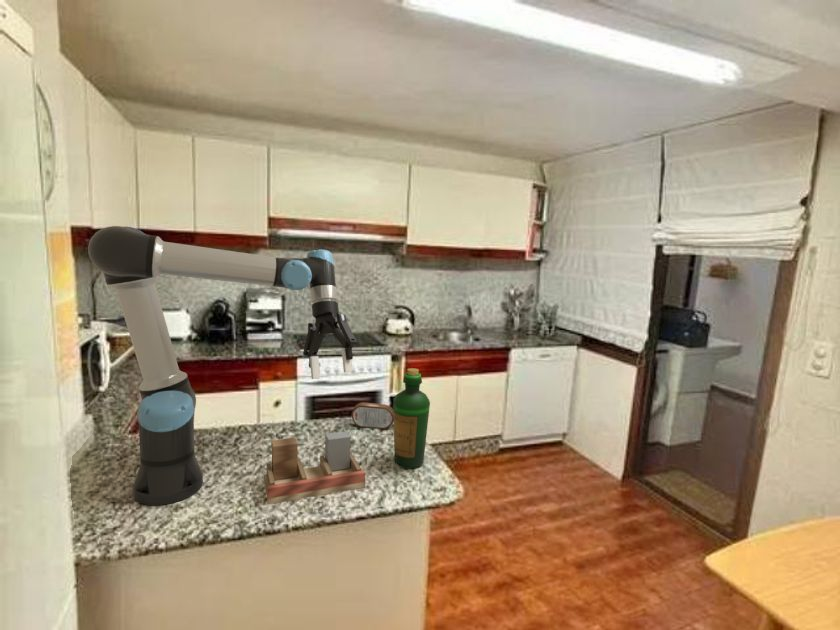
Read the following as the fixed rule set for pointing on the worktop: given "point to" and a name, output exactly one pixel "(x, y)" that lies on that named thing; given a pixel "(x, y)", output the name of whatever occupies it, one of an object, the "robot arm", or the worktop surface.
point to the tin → (373, 415)
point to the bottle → (410, 422)
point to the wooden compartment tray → (313, 481)
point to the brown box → (284, 458)
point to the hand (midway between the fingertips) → (331, 375)
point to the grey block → (337, 450)
